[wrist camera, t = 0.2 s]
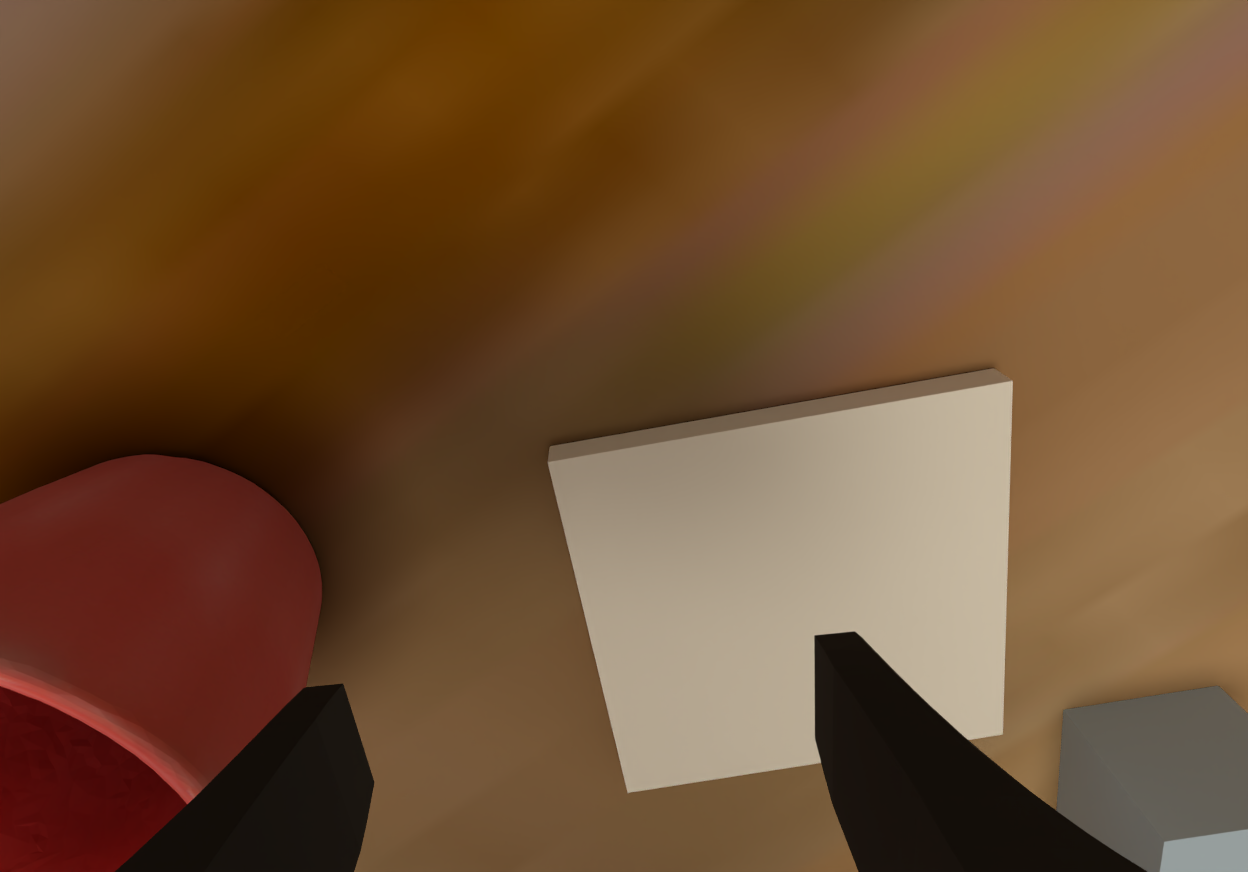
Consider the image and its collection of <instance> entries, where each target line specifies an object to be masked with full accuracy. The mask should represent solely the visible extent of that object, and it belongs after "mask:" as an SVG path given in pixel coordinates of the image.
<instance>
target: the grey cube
mask: <svg viewBox="0 0 1248 872" xmlns="http://www.w3.org/2000/svg"><path fill="white" fill-rule="evenodd" d="M1057 811H1058V812H1059V813H1060V814H1062V815H1063V816H1064V817H1066V818H1067V819H1069V820H1070V821H1071V822H1073V823H1074V824H1076V825H1077V826H1078V827H1080V828H1081V829H1083V830H1084V831H1085V832H1087V833H1088V834H1090V835H1091V836H1093V837H1094V838H1096V839H1097V840H1099V841H1100V842H1102V843H1103V844H1105V845H1106V846H1108V847H1109V848H1111V849H1112V850H1114V851H1115V852H1117V853H1119V854H1120V855H1122V856H1123V857H1125V858H1127V859H1128V860H1130V861H1131V862H1133V863H1135V864H1136V865H1138V866H1139V867H1141V868H1143V869H1144V870H1146V871H1147V872H1248V713H1247V712H1246V711H1245V710H1244V709H1242V708H1241V707H1240V706H1239V705H1238V704H1237V703H1236V702H1235V701H1234V700H1233V699H1232V698H1231V697H1230V696H1229V695H1228V694H1227V693H1226V692H1224V691H1223V690H1222V689H1221V688H1220V687H1219V686H1213V687H1206V688H1200V689H1193V690H1187V691H1181V692H1174V693H1168V694H1161V695H1155V696H1149V697H1142V698H1136V699H1129V700H1123V701H1117V702H1110V703H1104V704H1097V705H1091V706H1085V707H1078V708H1072V709H1065V710H1063V725H1062V739H1061V753H1060V768H1059V782H1058V796H1057Z"/></svg>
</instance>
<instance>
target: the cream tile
mask: <svg viewBox="0 0 1248 872" xmlns="http://www.w3.org/2000/svg"><path fill="white" fill-rule="evenodd" d="M1012 388H1013V381H1012V380H1011V379H1009V378H1008V377H1006V376H1005V375H1003V374H1002V373H1000V372H999V371H998V370H996V369H995V368H992V369H987V370H981V371H975V372H970V373H964V374H958V375H952V376H947V377H941V378H935V379H930V380H924V381H918V382H913V383H907V384H901V385H896V386H890V387H884V388H879V389H873V390H867V391H861V392H856V393H850V394H844V395H839V396H833V397H827V398H822V399H816V400H810V401H805V402H799V403H793V404H788V405H782V406H776V407H770V408H765V409H759V410H753V411H748V412H742V413H736V414H731V415H725V416H719V417H714V418H708V419H702V420H697V421H691V422H685V423H680V424H674V425H668V426H662V427H657V428H651V429H645V430H640V431H634V432H628V433H623V434H617V435H611V436H606V437H600V438H594V439H589V440H583V441H577V442H571V443H566V444H560V445H554V446H550V448H549V455H548V466H549V470H550V474H551V478H552V483H553V487H554V491H555V495H556V499H557V503H558V507H559V511H560V516H561V520H562V524H563V528H564V532H565V536H566V540H567V544H568V549H569V553H570V557H571V561H572V565H573V569H574V573H575V577H576V582H577V586H578V590H579V594H580V598H581V602H582V606H583V610H584V615H585V619H586V623H587V627H588V631H589V635H590V639H591V643H592V647H593V652H594V656H595V660H596V664H597V668H598V672H599V676H600V680H601V685H602V689H603V693H604V697H605V701H606V705H607V709H608V713H609V718H610V722H611V726H612V730H613V734H614V738H615V742H616V746H617V751H618V755H619V759H620V763H621V767H622V771H623V775H624V779H625V784H626V788H627V792H628V793H630V792H637V791H643V790H650V789H656V788H662V787H669V786H675V785H682V784H688V783H695V782H701V781H707V780H714V779H720V778H727V777H733V776H740V775H746V774H752V773H759V772H765V771H772V770H778V769H784V768H791V767H797V766H804V765H810V764H817V763H821V760H820V756H819V752H818V748H817V745H816V741H815V657H814V635H823V634H833V633H843V632H853V631H855V632H856V633H857V634H859V635H860V636H861V637H862V638H863V639H864V640H865V641H866V642H867V643H868V644H869V645H870V646H871V647H872V648H873V649H874V650H875V651H876V652H877V653H878V654H879V655H880V656H881V657H882V659H883V660H884V661H885V662H886V663H887V664H888V665H889V666H890V667H891V668H892V669H893V670H894V671H895V672H896V673H897V674H898V675H899V676H900V677H901V678H902V679H903V680H904V681H905V682H906V683H907V684H908V685H909V686H910V687H911V688H912V689H913V690H914V691H915V692H917V693H918V694H919V695H920V696H921V697H922V698H923V699H924V700H925V701H926V702H927V703H928V704H929V705H930V706H931V707H932V708H933V709H935V710H936V711H937V712H938V713H939V714H940V715H941V716H942V717H943V718H944V719H945V720H947V721H948V722H949V723H950V724H951V725H952V726H953V727H954V728H955V729H956V730H957V731H959V732H960V733H961V734H962V735H963V736H964V737H965V738H966V739H968V740H971V739H977V738H984V737H990V736H996V735H1003V708H1004V672H1005V637H1006V601H1007V566H1008V530H1009V495H1010V459H1011V424H1012Z"/></svg>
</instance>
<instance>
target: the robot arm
mask: <svg viewBox="0 0 1248 872" xmlns="http://www.w3.org/2000/svg"><path fill="white" fill-rule="evenodd" d="M814 657H815V741H816V745H817V748H818V752H819V756H820V760H821V764H822V768H823V771H824V775H825V779H826V782H827V786H828V790H829V793H830V797H831V800H832V804H833V807H834V809H835V812H836V814H837V817H838V820H839V822H840V825H841V827H842V830H843V833H844V835H845V838H846V840H847V843H848V846H849V848H850V851H851V853H852V856H853V858H854V861H855V863H856V866H857V869H858V871H859V872H1147V871H1146V870H1144V869H1143V868H1141V867H1139V866H1138V865H1136V864H1135V863H1133V862H1131V861H1130V860H1128V859H1127V858H1125V857H1123V856H1122V855H1120V854H1119V853H1117V852H1115V851H1114V850H1112V849H1111V848H1109V847H1108V846H1106V845H1105V844H1103V843H1102V842H1100V841H1099V840H1097V839H1096V838H1094V837H1093V836H1091V835H1090V834H1088V833H1087V832H1085V831H1084V830H1083V829H1081V828H1080V827H1078V826H1077V825H1076V824H1074V823H1073V822H1071V821H1070V820H1069V819H1067V818H1066V817H1064V816H1063V815H1062V814H1060V813H1059V812H1058V811H1056V810H1055V809H1053V808H1052V807H1051V806H1049V805H1048V804H1046V803H1045V802H1044V801H1042V800H1041V799H1040V798H1038V797H1037V796H1036V795H1034V794H1033V793H1032V792H1031V791H1029V790H1028V789H1027V788H1025V787H1024V786H1023V785H1022V784H1020V783H1019V782H1018V781H1017V780H1015V779H1014V778H1013V777H1012V776H1010V775H1009V774H1008V773H1007V772H1005V771H1004V770H1003V769H1002V768H1001V767H999V766H998V765H997V764H996V763H995V762H993V761H992V760H991V759H990V758H989V757H987V756H986V755H985V754H984V753H983V752H981V751H980V750H979V749H978V748H977V747H976V746H974V745H973V744H972V743H971V742H970V741H969V740H968V739H966V738H965V737H964V736H963V735H962V734H961V733H960V732H959V731H957V730H956V729H955V728H954V727H953V726H952V725H951V724H950V723H949V722H948V721H947V720H945V719H944V718H943V717H942V716H941V715H940V714H939V713H938V712H937V711H936V710H935V709H933V708H932V707H931V706H930V705H929V704H928V703H927V702H926V701H925V700H924V699H923V698H922V697H921V696H920V695H919V694H918V693H917V692H915V691H914V690H913V689H912V688H911V687H910V686H909V685H908V684H907V683H906V682H905V681H904V680H903V679H902V678H901V677H900V676H899V675H898V674H897V673H896V672H895V671H894V670H893V669H892V668H891V667H890V666H889V665H888V664H887V663H886V662H885V661H884V660H883V659H882V657H881V656H880V655H879V654H878V653H877V652H876V651H875V650H874V649H873V648H872V647H871V646H870V645H869V644H868V643H867V642H866V641H865V640H864V639H863V638H862V637H861V636H860V635H859V634H857V633H856V632H855V631H853V632H843V633H833V634H823V635H814ZM373 787H374V780H373V777H372V774H371V770H370V767H369V764H368V761H367V758H366V755H365V751H364V748H363V745H362V742H361V739H360V735H359V732H358V729H357V726H356V723H355V720H354V716H353V713H352V710H351V707H350V704H349V701H348V697H347V694H346V691H345V688H344V685H343V684H335V685H325V686H316V687H306V688H303V689H302V690H301V691H300V692H299V693H298V694H297V695H296V696H295V697H294V698H293V699H292V700H290V701H289V702H288V703H287V704H286V705H285V706H284V707H283V708H282V710H281V711H280V712H279V713H278V714H277V715H276V716H275V717H274V718H273V719H272V720H271V721H270V722H269V723H268V724H267V725H266V726H265V727H264V728H263V729H262V730H261V731H260V732H259V733H258V734H257V735H256V736H255V737H254V738H253V739H252V740H251V741H250V742H249V743H248V744H247V745H246V746H245V747H244V748H243V749H242V751H241V752H240V753H239V754H238V755H237V756H236V757H235V758H234V759H233V760H232V761H231V762H230V763H229V764H228V765H227V766H226V767H225V768H224V769H223V770H222V771H221V772H220V773H219V774H218V775H217V776H216V777H215V778H214V779H213V780H212V781H211V782H210V783H209V784H208V785H207V786H206V787H205V788H204V789H203V790H202V791H201V792H200V793H199V794H198V795H197V796H196V797H195V798H194V799H193V800H192V801H190V802H189V803H188V804H187V805H186V806H185V807H184V808H183V809H182V810H181V811H180V812H179V813H178V814H177V815H175V816H174V817H173V818H172V819H171V820H170V821H169V822H168V823H167V824H166V825H165V826H164V827H163V828H162V829H160V830H159V831H158V832H157V833H156V834H155V835H154V836H153V837H152V838H151V839H150V840H149V841H148V842H147V843H145V844H144V845H143V846H142V847H141V848H140V849H139V850H138V851H137V852H136V853H135V854H134V855H133V856H132V857H130V858H129V859H128V860H127V861H126V862H125V863H124V864H123V865H121V866H120V867H119V868H118V869H117V870H116V871H115V872H354V870H355V867H356V864H357V860H358V857H359V854H360V851H361V846H362V842H363V837H364V833H365V828H366V823H367V819H368V813H369V808H370V803H371V797H372V792H373Z"/></svg>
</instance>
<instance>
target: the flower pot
mask: <svg viewBox="0 0 1248 872" xmlns="http://www.w3.org/2000/svg"><path fill="white" fill-rule="evenodd" d="M321 604H322V579H321V573H320V568H319V564H318V561H317V558H316V555H315V552H314V550H313V548H312V546H311V544H310V542H309V540H308V538H307V536H306V534H305V533H304V532H303V530H302V529H301V527H300V526H299V524H298V523H297V521H296V520H295V519H294V518H293V517H292V516H291V514H290V513H289V512H288V511H287V510H286V509H285V508H284V507H283V506H282V505H281V504H280V503H279V502H277V501H276V500H275V499H274V498H273V497H272V496H270V495H269V494H268V493H267V492H265V491H264V490H263V489H261V488H260V487H258V486H257V485H256V484H254V483H252V482H251V481H249V480H247V479H245V478H243V477H241V476H239V475H237V474H235V473H233V472H231V471H228V470H226V469H224V468H221V467H218V466H215V465H212V464H209V463H206V462H203V461H198V460H193V459H188V458H178V457H170V456H163V455H155V454H145V455H134V456H128V457H122V458H118V459H113V460H109V461H106V462H103V463H100V464H97V465H94V466H92V467H89V468H87V469H85V470H82V471H80V472H77V473H74V474H72V475H69V476H67V477H64V478H62V479H59V480H57V481H54V482H52V483H49V484H47V485H44V486H41V487H39V488H36V489H34V490H32V491H29V492H27V493H25V494H22V495H20V496H18V497H15V498H13V499H11V500H9V501H6V502H4V503H2V504H0V872H115V871H116V870H117V869H118V868H119V867H120V866H121V865H123V864H124V863H125V862H126V861H127V860H128V859H129V858H130V857H132V856H133V855H134V854H135V853H136V852H137V851H138V850H139V849H140V848H141V847H142V846H143V845H144V844H145V843H147V842H148V841H149V840H150V839H151V838H152V837H153V836H154V835H155V834H156V833H157V832H158V831H159V830H160V829H162V828H163V827H164V826H165V825H166V824H167V823H168V822H169V821H170V820H171V819H172V818H173V817H174V816H175V815H177V814H178V813H179V812H180V811H181V810H182V809H183V808H184V807H185V806H186V805H187V804H188V803H189V802H190V801H192V800H193V799H194V798H195V797H196V796H197V795H198V794H199V793H200V792H201V791H202V790H203V789H204V788H205V787H206V786H207V785H208V784H209V783H210V782H211V781H212V780H213V779H214V778H215V777H216V776H217V775H218V774H219V773H220V772H221V771H222V770H223V769H224V768H225V767H226V766H227V765H228V764H229V763H230V762H231V761H232V760H233V759H234V758H235V757H236V756H237V755H238V754H239V753H240V752H241V751H242V749H243V748H244V747H245V746H246V745H247V744H248V743H249V742H250V741H251V740H252V739H253V738H254V737H255V736H256V735H257V734H258V733H259V732H260V731H261V730H262V729H263V728H264V727H265V726H266V725H267V724H268V723H269V722H270V721H271V720H272V719H273V718H274V717H275V716H276V715H277V714H278V713H279V712H280V711H281V710H282V708H283V707H284V706H285V705H286V704H287V703H288V702H289V701H290V700H292V699H293V698H294V697H295V696H296V695H297V694H298V693H299V692H300V691H301V690H302V689H303V688H306V684H307V679H308V674H309V668H310V663H311V658H312V653H313V647H314V642H315V637H316V631H317V626H318V621H319V615H320V610H321Z"/></svg>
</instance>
